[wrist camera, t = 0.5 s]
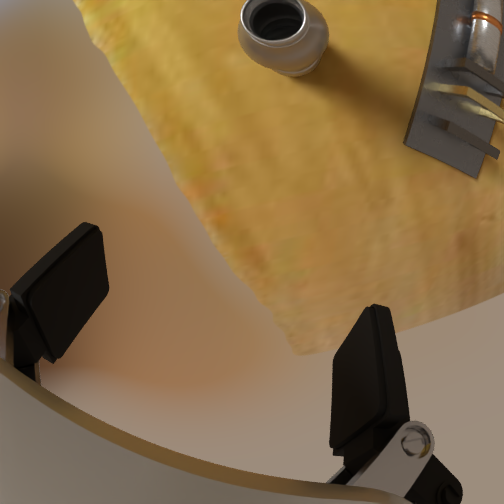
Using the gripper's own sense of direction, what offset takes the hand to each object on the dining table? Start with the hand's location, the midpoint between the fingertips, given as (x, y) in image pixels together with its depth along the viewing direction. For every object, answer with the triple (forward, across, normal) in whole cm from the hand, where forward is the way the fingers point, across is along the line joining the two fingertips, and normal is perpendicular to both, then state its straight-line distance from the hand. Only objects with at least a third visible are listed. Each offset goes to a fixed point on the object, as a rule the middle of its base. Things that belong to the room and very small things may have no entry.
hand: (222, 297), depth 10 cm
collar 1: (+29, -20, -16) cm, 39 cm away
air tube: (+29, -20, -26) cm, 43 cm away
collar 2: (+29, -20, -8) cm, 36 cm away
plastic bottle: (+30, +2, -10) cm, 32 cm away
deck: (+30, -20, -19) cm, 41 cm away
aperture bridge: (+29, -20, -13) cm, 37 cm away
